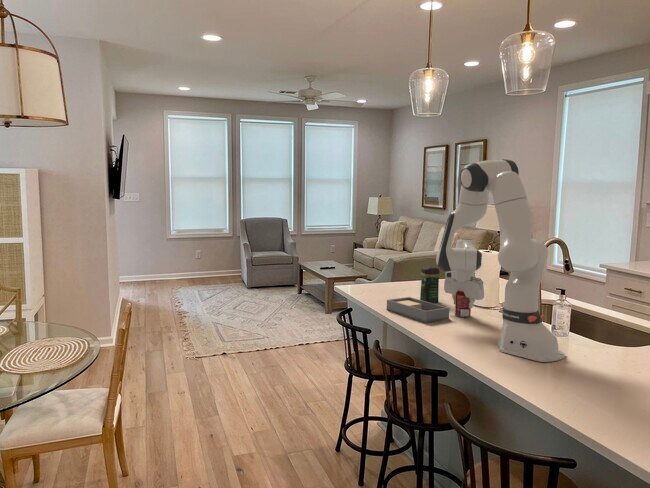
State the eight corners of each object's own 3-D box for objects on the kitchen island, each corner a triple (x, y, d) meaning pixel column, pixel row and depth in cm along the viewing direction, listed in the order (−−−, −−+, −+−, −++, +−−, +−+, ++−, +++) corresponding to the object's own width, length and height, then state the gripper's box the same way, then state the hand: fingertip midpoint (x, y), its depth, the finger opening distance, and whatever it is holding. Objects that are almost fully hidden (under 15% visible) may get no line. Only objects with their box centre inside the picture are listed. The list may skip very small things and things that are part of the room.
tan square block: (421, 310, 223) (421, 304, 223) (406, 312, 218) (406, 306, 218) (407, 306, 231) (408, 300, 230) (393, 308, 226) (393, 302, 226)
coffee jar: (440, 305, 239) (442, 267, 238) (425, 305, 238) (426, 267, 236) (432, 300, 249) (433, 264, 247) (417, 301, 247) (419, 264, 245)
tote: (448, 319, 212) (449, 307, 211) (425, 323, 205) (426, 311, 204) (408, 307, 233) (409, 296, 233) (386, 310, 226) (386, 299, 226)
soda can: (470, 318, 213) (472, 291, 212) (454, 317, 215) (456, 290, 214) (469, 315, 220) (470, 288, 219) (454, 314, 221) (455, 287, 220)
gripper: (488, 278, 208) (486, 310, 210) (452, 271, 226) (451, 301, 227) (478, 279, 205) (476, 311, 206) (442, 272, 222) (441, 302, 224)
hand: (462, 306), depth 217 cm, fingers closed on soda can, 6 cm apart
